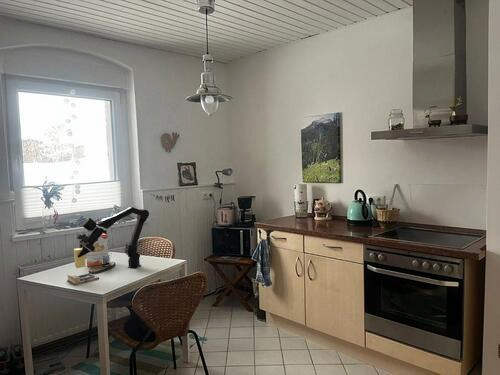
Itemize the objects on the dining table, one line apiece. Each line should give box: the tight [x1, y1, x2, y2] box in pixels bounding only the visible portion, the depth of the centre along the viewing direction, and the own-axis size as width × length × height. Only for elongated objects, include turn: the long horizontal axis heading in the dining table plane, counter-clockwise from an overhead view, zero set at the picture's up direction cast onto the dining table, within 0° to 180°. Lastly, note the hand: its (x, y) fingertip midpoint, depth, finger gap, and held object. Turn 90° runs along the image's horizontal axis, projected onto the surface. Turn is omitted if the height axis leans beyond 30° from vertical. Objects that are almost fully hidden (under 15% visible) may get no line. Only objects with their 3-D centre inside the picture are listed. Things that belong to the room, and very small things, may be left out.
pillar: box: [73, 247, 87, 269], centre depth 228 cm, size 5×5×11 cm
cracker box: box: [85, 233, 109, 267], centre depth 257 cm, size 14×6×21 cm, turn 112°
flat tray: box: [66, 273, 100, 286], centre depth 223 cm, size 14×12×4 cm
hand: (77, 256), depth 227 cm, fingers closed on pillar, 5 cm apart
